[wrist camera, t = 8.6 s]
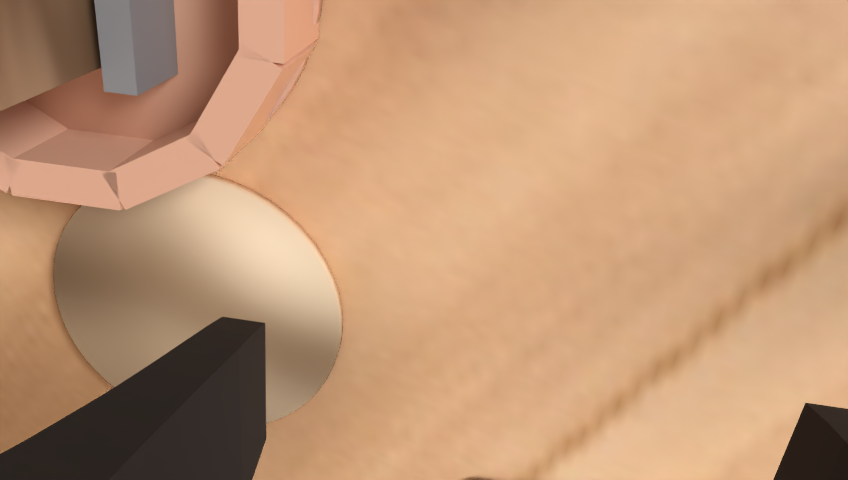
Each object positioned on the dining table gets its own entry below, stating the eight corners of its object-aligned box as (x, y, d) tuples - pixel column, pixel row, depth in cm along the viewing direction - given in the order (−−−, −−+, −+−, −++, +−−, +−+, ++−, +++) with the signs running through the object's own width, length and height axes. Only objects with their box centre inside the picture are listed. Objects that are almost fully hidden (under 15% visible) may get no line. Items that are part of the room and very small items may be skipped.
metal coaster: (337, 439, 24) (334, 448, 24) (79, 398, 25) (72, 406, 24) (349, 192, 20) (346, 197, 20) (41, 150, 21) (32, 155, 20)
